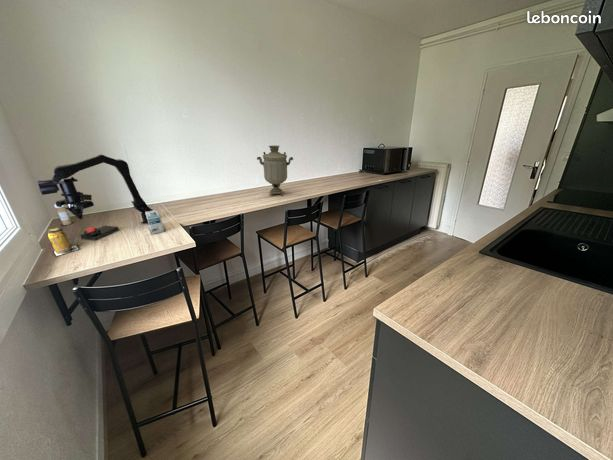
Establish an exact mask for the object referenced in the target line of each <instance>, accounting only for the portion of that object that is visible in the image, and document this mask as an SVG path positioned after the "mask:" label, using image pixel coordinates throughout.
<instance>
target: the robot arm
mask: <svg viewBox="0 0 613 460" xmlns="http://www.w3.org/2000/svg"><path fill="white" fill-rule="evenodd" d="M100 164H101V165H102V164H107V165H109V166H112V167H114V168H115V169H116V170H117V172H118V173H119V175H121V177H122V179H123V181H124V183H125V185H126V187H127V189H128V191H129V193H130V195H131V197H132V199H133V200H132V201H130V202H131V204H132V205H133V208H134V209H135V210H136V211H138V212H139V213H140V215H141V216H140V217H141V219H142V221H141V224H147V225H149V223H148V220H147V217H146V213H145V212H147V211H154V209H152V208H151V207H150V206H148V204H147V203H146V201H145V200H144V199H143V197H141V195H140V193H139V191H138V189H137V185H136V184H135V182H134V180H133V177H132V175H131V172H130V171H131V170H130V167H129V163H128V162H127V161H126V160H123V159H122V158H121V159H120V158H117V159H116V158H113V157H110V156H107V155H105V154H98V155H96V156H92V157H90V158H87V159H84V160H81V161H78V162H75V163H67V164H63V165H57V166H55V167H54V169H53V173H54V175H53V176H52V178H51V179H47V180H46V179H45V180H37V181H36V182H37V185H38V188H39V191H40V193H41V195H42V196H45V195H51V194H58V192H59V191H60V190H61V193H60V196H61V197H64V199H60V200H56V202H55V204H56V206H57V207H62V205H65V208H66V210H67V211H69V212H70V213H71V214H72V215H74V216H75V217H76V218H77V219H79V220H82V219H83V213H84V212H83V211H84V210H85V209H88V208H91V207H95V203H94V201H92V198H93V197H92V196H93V195H92V194H85V193H84V192H82V191H81V192H80V191H78V190H77V187H76V185H75V184H76V183H75V182H79V180H78V179H77V178H75V177H74V175H75V174H77V173H78V172H80V171H84V170H86V169H90V168H92V167H94V166H97V165H98V166H99V165H100Z"/></svg>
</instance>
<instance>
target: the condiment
mask: <svg viewBox="0 0 613 460" xmlns="http://www.w3.org/2000/svg"><path fill="white" fill-rule="evenodd" d="M47 235H48V239H49V241H50V244H51V246H52V248H53V250H54V251H53V252H54V254H55V256H56V257H57V256H61V255H64V254H68V253H70V252H71V253H72V252H75V251H77V250H79V248H78V246H77V245H76V244H75V245H72V246H71V243H70V241H69V239H68V237H67V235H66V233H65V232H64V230H63V228H62V227H53V228H49V229H48V230H47Z"/></svg>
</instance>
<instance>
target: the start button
mask: <svg viewBox="0 0 613 460" xmlns="http://www.w3.org/2000/svg"><path fill="white" fill-rule="evenodd" d="M96 228H97V227H95V226H89V227H86V228H85V231H87V233H89V232H94V231H96Z"/></svg>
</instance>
